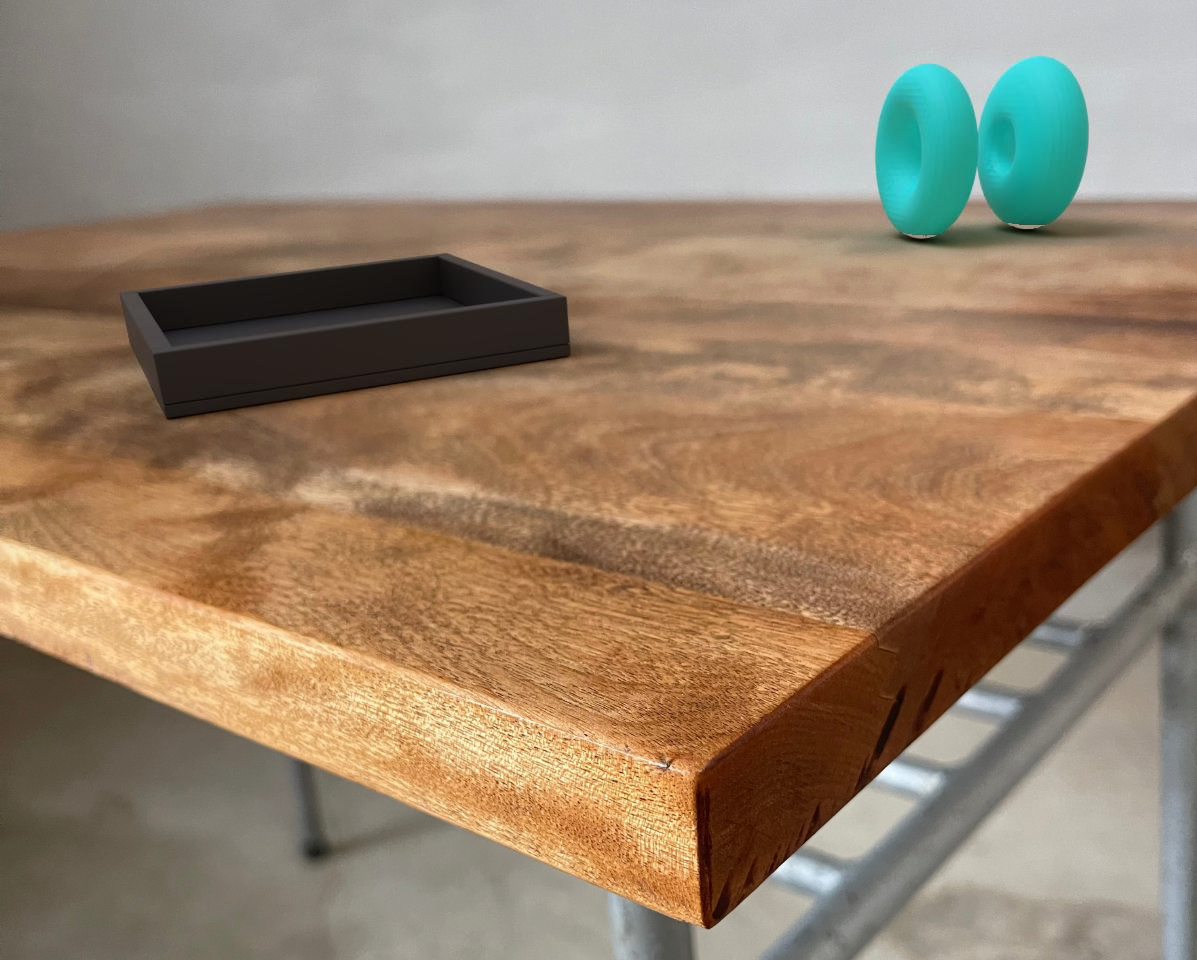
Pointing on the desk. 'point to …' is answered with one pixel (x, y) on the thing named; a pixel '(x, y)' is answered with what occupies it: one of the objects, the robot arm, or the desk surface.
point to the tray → (336, 330)
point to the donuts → (981, 146)
